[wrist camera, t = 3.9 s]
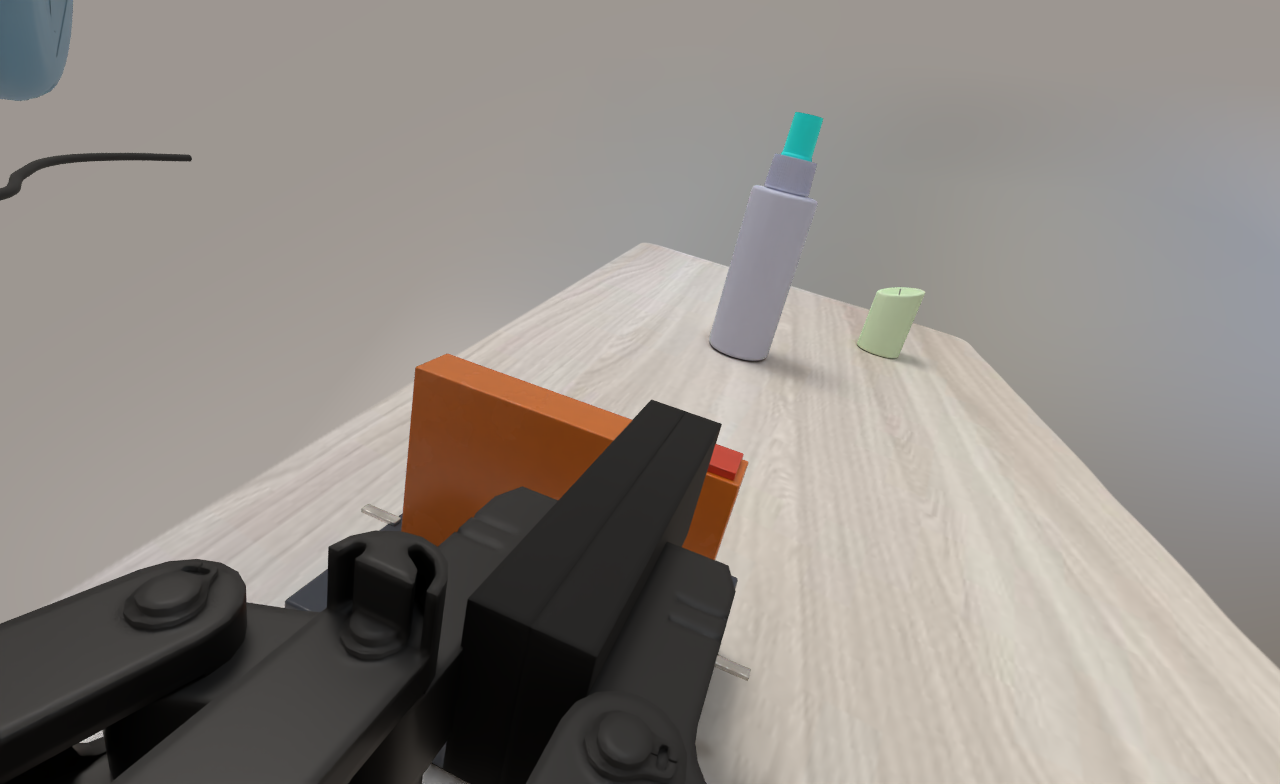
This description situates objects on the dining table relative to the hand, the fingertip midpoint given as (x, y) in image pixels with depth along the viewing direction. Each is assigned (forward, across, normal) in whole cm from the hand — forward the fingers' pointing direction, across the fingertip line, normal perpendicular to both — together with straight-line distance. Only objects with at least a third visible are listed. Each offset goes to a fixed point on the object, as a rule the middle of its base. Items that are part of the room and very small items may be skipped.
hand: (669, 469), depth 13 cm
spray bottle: (+48, -4, -12) cm, 50 cm away
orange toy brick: (+4, -4, -8) cm, 10 cm away
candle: (+66, +11, -12) cm, 68 cm away
